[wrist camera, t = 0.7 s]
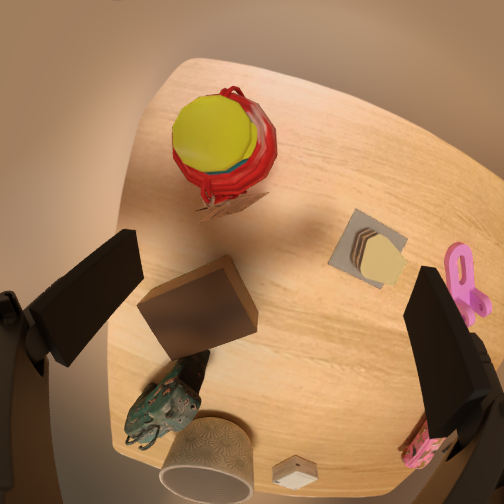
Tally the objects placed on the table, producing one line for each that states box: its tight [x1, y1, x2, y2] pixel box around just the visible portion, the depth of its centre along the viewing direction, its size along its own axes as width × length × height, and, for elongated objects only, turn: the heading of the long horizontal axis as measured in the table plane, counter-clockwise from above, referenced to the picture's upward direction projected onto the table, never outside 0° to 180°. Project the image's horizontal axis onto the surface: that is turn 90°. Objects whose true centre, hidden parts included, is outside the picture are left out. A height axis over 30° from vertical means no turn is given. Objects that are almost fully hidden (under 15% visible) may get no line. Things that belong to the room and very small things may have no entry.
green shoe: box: [124, 350, 210, 451], centre depth 38 cm, size 20×6×20 cm, turn 137°
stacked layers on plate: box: [328, 209, 408, 289], centre depth 38 cm, size 10×9×6 cm
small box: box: [272, 455, 318, 490], centre depth 52 cm, size 8×8×5 cm
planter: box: [159, 417, 254, 504], centre depth 44 cm, size 17×17×15 cm
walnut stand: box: [137, 255, 258, 361], centre depth 41 cm, size 10×14×6 cm
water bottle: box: [172, 86, 277, 223], centre depth 26 cm, size 12×8×25 cm, turn 168°
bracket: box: [445, 242, 492, 328], centre depth 37 cm, size 13×6×7 cm, turn 22°
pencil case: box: [401, 420, 445, 469], centre depth 45 cm, size 21×9×9 cm, turn 175°
